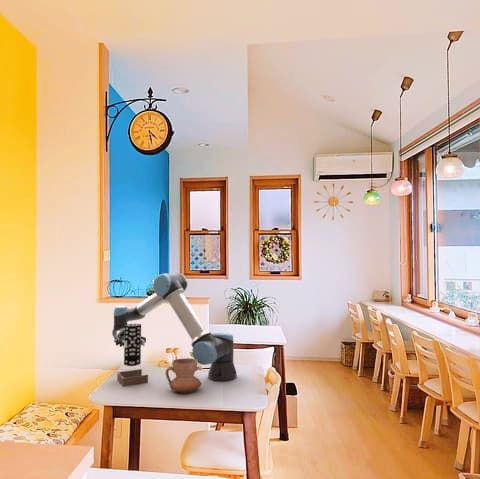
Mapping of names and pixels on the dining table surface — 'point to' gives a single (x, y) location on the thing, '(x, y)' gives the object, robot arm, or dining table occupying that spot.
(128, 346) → the white-spotted black cylinder
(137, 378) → the tray
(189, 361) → the ceramic jug
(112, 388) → the dining table surface
